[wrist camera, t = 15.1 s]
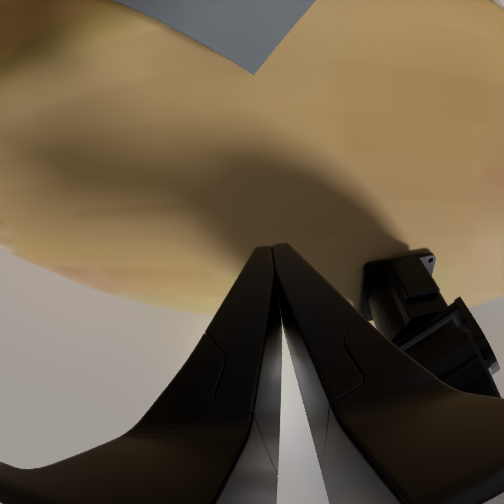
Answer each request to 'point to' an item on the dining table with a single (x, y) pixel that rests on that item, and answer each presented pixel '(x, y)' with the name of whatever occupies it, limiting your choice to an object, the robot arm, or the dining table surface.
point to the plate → (499, 3)
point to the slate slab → (229, 24)
